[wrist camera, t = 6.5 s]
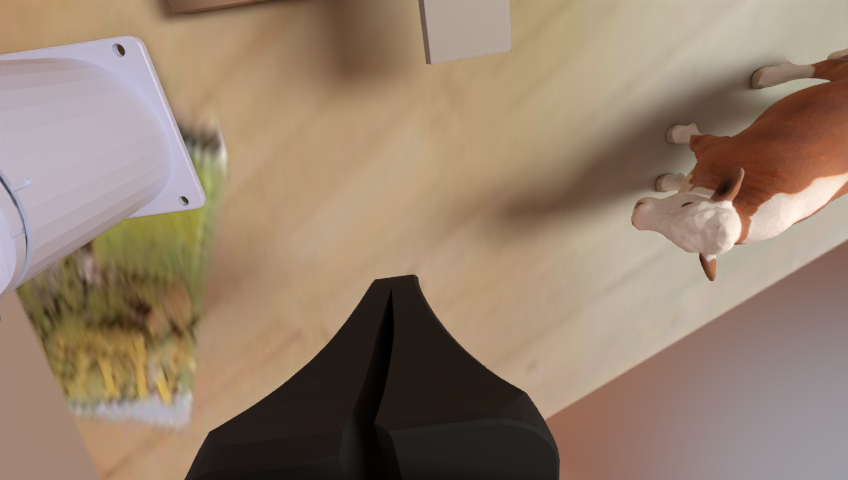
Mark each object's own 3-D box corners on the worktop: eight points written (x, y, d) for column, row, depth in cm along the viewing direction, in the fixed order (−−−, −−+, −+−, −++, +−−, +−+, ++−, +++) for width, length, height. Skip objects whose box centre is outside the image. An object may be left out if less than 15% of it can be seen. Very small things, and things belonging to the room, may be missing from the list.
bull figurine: (570, 160, 21) (658, 224, 14) (846, 15, 19) (1133, -1, 11) (597, 226, 23) (688, 314, 16) (852, 102, 20) (1103, 138, 13)
